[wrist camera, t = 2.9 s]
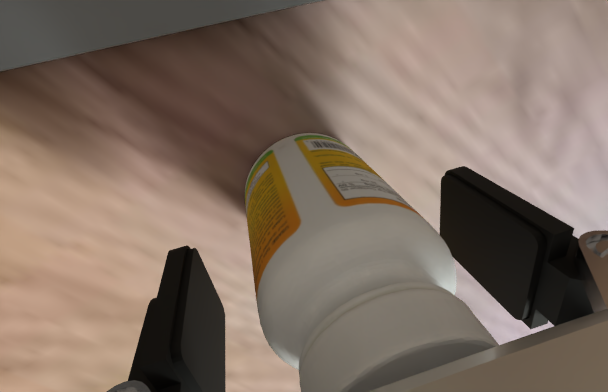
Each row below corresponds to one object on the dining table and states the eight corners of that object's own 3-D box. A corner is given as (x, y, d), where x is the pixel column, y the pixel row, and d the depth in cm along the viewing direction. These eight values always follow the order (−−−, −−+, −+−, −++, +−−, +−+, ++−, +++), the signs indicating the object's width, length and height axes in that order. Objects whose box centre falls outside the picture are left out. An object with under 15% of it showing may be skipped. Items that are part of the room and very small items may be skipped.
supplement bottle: (275, 255, 16) (332, 516, 7) (220, 164, 13) (212, 411, 5) (374, 209, 16) (545, 415, 7) (340, 108, 13) (549, 252, 5)
